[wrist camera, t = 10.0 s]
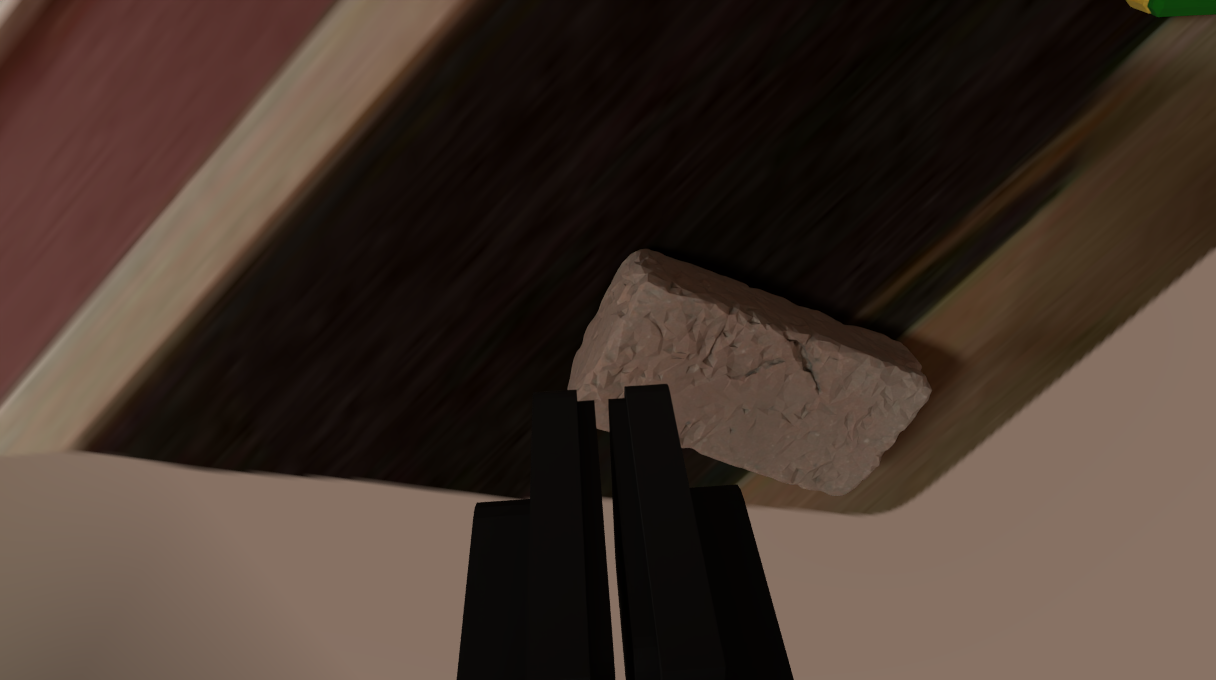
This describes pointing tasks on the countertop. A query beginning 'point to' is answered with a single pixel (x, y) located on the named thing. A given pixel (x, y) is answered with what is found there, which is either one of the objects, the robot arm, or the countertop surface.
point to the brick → (750, 373)
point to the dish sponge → (1175, 7)
